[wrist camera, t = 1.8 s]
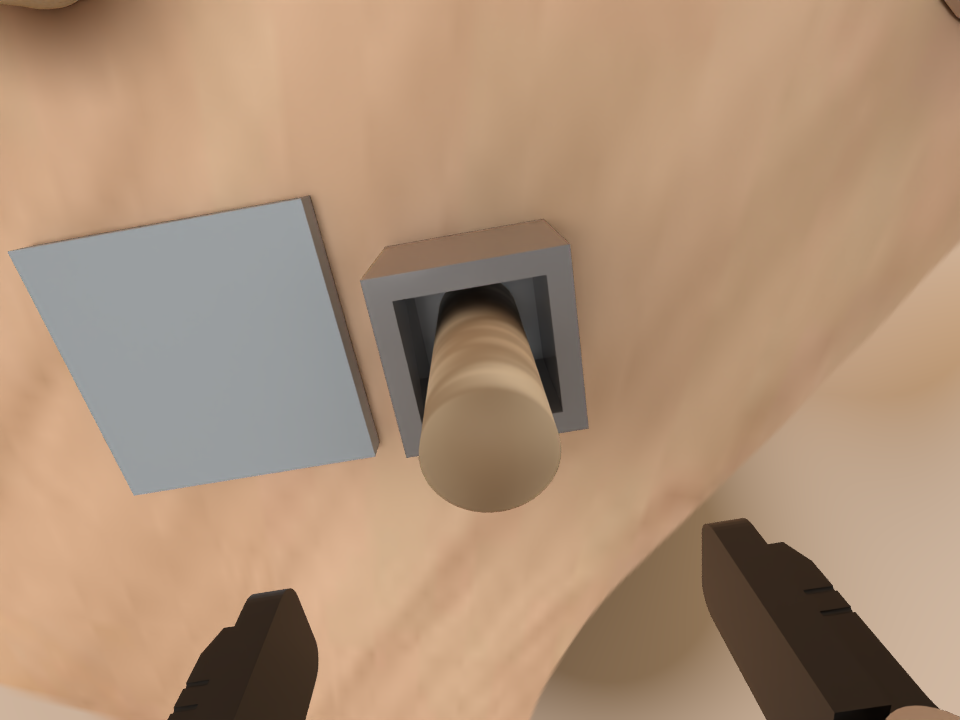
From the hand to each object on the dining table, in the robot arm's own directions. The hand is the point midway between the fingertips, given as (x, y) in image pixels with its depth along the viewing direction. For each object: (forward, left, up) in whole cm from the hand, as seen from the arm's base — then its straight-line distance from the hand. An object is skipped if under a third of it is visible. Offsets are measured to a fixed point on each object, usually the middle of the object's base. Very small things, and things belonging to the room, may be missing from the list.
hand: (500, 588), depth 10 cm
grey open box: (0, 0, -19) cm, 19 cm away
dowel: (0, 0, -18) cm, 18 cm away
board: (+14, 0, -19) cm, 23 cm away
